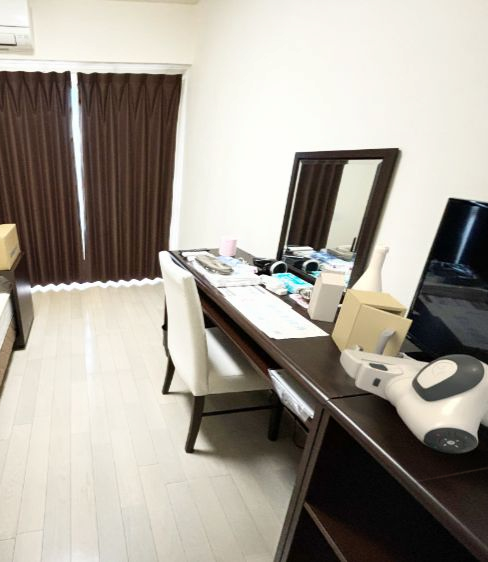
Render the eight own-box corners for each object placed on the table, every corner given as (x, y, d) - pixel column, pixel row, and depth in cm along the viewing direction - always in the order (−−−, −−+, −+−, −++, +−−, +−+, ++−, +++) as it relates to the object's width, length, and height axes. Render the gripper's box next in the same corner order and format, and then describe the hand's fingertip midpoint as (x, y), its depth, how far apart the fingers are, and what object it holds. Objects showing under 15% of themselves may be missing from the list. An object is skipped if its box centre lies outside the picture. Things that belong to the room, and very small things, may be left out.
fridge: (384, 362, 91) (407, 309, 85) (342, 354, 95) (361, 303, 88) (369, 342, 101) (388, 293, 94) (331, 336, 104) (347, 288, 97)
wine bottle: (354, 317, 117) (381, 241, 106) (377, 330, 109) (410, 249, 97) (333, 318, 116) (358, 242, 104) (355, 332, 107) (385, 250, 96)
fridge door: (380, 383, 82) (404, 327, 76) (335, 362, 91) (353, 309, 84) (388, 375, 86) (412, 320, 79) (344, 355, 94) (362, 304, 87)
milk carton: (332, 323, 113) (348, 275, 106) (311, 319, 115) (325, 272, 108) (327, 314, 119) (341, 268, 112) (306, 311, 121) (319, 266, 114)
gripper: (469, 384, 65) (430, 348, 77) (357, 364, 71) (337, 333, 83) (456, 407, 67) (420, 368, 79) (349, 385, 73) (330, 353, 85)
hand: (377, 350), depth 81 cm, fingers open, 8 cm apart
